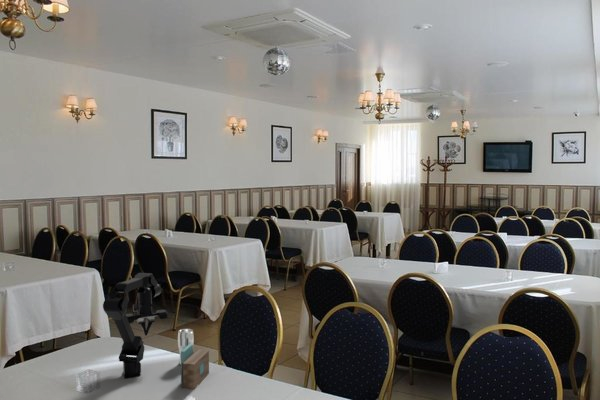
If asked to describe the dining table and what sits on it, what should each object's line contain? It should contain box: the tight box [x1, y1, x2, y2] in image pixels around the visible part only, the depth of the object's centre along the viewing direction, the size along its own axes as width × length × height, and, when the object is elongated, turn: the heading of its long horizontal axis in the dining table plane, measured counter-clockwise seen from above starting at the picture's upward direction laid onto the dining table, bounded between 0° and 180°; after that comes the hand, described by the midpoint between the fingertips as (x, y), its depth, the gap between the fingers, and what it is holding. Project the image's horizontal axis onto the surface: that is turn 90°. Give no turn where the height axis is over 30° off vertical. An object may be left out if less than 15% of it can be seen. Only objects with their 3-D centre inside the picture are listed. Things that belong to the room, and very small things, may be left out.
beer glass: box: [177, 328, 195, 366], centre depth 233 cm, size 7×7×15 cm
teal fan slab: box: [180, 343, 204, 384], centre depth 215 cm, size 7×9×13 cm
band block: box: [180, 349, 210, 389], centre depth 215 cm, size 6×16×10 cm, turn 169°
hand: (145, 335), depth 233 cm, fingers closed
